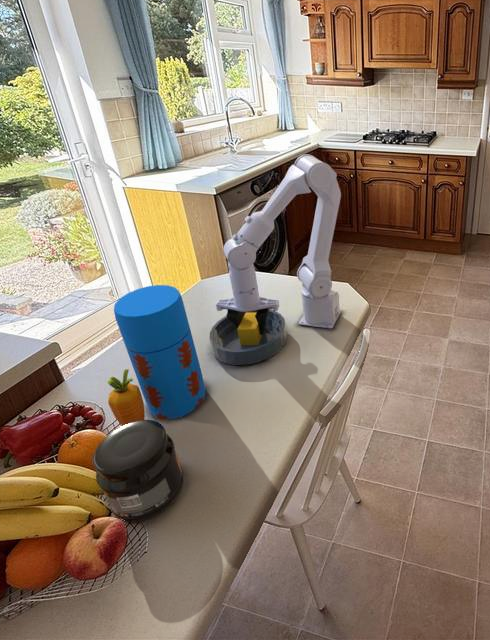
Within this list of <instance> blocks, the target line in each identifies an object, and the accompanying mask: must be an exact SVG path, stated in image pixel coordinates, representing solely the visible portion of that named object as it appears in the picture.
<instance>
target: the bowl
mask: <svg viewBox="0 0 490 640" xmlns="http://www.w3.org/2000/svg"><path fill="white" fill-rule="evenodd" d="M257 311H258V310H254V311H248V312H243V317H244V315H245V313H257ZM287 334H288V333H287V326H286V321H285V318H284V316H283V315H282V314H281V313H279V311H274V310H273V309H269V311H268V314H267V318H266V322H265V331H264V334H263V335H262V338H261V340H260V342H259V345H240V341H239V335H238V330H237V328H236V326H235V325H234V324H233V323H232V322H231V321H230V320H229V319H228V318H227V316H226V315H225V316H223V317H221V318H220V319H219V320H218V321H217V322H216V323H215V324H214V325H213V326H212V327H211V329H210V331H209V343H210V348H211V352H212V353H213V355H214V358H216V359H217V360H219V361H220V362H222V363H225V364H227V365H235V366H245V365H246V366H247V365H252V364H256V363H259V362H262V361H264V360H267V359H269V358H271V357H272V356H274V355H276V354H277V353H278V352H279V351H280V350H281V349H282V348H283V346H284V345H285V343H286V341H287V337H288V335H287Z"/></svg>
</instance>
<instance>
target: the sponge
mask: <svg viewBox="0 0 490 640" xmlns="http://www.w3.org/2000/svg"><path fill="white" fill-rule="evenodd" d="M255 315H256V313H245V315H244V317H243V319H242V321H241V323H240V325H239V327H238V329H237V330H238V335H239V341H240V345H259V342H260V340H261V338H262V335H260V332H259V326H258V322H257V319H256V318H255Z"/></svg>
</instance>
